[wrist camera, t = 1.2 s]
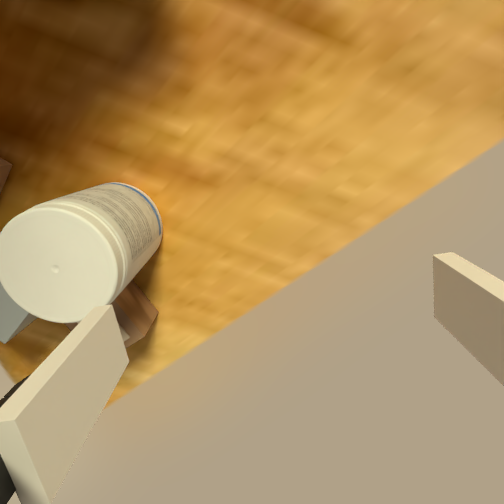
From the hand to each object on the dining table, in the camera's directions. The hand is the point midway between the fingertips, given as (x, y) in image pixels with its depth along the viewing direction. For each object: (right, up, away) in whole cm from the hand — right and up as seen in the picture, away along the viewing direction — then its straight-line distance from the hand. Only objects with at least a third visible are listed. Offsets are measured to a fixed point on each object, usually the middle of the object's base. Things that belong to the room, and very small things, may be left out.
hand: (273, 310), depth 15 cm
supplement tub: (-15, +5, +27) cm, 31 cm away
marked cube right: (-16, -4, +29) cm, 34 cm away
